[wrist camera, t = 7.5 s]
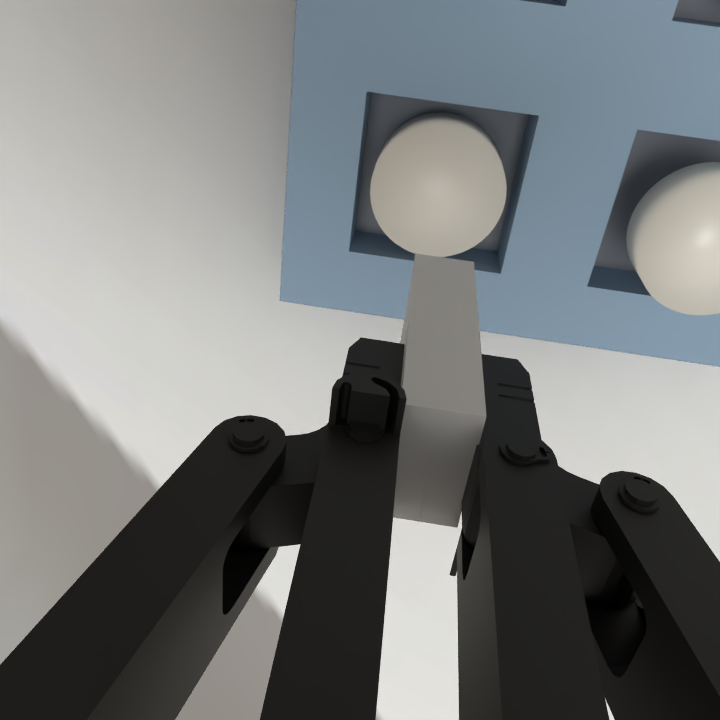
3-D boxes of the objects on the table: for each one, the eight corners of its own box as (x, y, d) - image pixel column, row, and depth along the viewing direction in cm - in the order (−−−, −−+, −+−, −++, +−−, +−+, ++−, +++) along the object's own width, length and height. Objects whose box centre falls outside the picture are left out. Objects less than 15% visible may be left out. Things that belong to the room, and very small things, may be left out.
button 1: (384, 100, 27) (378, 114, 25) (514, 118, 27) (521, 134, 25) (369, 223, 30) (362, 247, 28) (486, 240, 30) (490, 266, 28)
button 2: (647, 147, 26) (667, 168, 23) (788, 167, 25) (822, 190, 23) (605, 274, 28) (619, 304, 26) (732, 293, 28) (757, 324, 26)
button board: (334, -373, 21) (319, -415, 19) (1059, -286, 21) (1145, -318, 18) (292, 272, 33) (279, 300, 30) (754, 341, 32) (781, 375, 30)
